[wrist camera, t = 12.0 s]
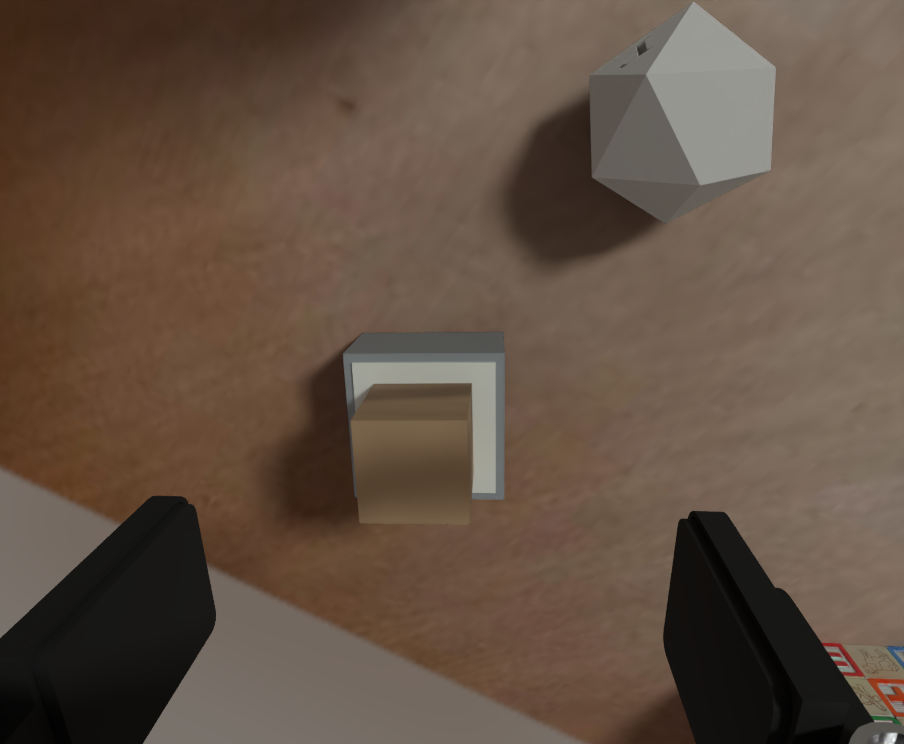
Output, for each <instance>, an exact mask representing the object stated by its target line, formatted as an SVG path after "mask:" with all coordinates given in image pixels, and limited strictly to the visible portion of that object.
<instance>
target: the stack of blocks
mask: <svg viewBox="0 0 904 744" xmlns="http://www.w3.org/2000/svg"><path fill="white" fill-rule="evenodd" d="M822 644H823V646H824V647H825V649H826V650H827V652H828V653H829V655H830V656H831V658H832V659H833V661H834V662H835V664H836V665H837V667H838V668H839V670H840V671H841V673H842V674H843V675H844V677H845V678H846V680H847V681H848V683H849V684H850V686H851V687H852V689H853V690H854V692H855V693H856V695H857V696H858V698H859V699H860V701H861V702H862V704H863V705H864V707H865V708H866V709H867V711H868V712H869V714H870V715H871V717H872V718H873V720H874V721H875V722H889V723H894V724H898V725H903V726H904V647H892V646H887V647H883V646H862V645H841V644H834V643H822Z"/></svg>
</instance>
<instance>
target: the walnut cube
mask: <svg viewBox="0 0 904 744" xmlns="http://www.w3.org/2000/svg"><path fill="white" fill-rule="evenodd" d="M351 432H352V444H353V455H354V466H355V478H356V489H357V500H358V511H359V523H386V524H462V525H470V514H471V501H472V488H473V475H474V464H473V416H472V383H416V384H374V385H373V386H372V388H371V389H370V391H369V392H368V394H367V396H366V397H365V399H364V400H363V402H362V403H361V405H360V406H359V408H358V410H357V411H356V413H355V414H354V416H353V417H352V419H351Z"/></svg>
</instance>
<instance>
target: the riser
mask: <svg viewBox="0 0 904 744" xmlns="http://www.w3.org/2000/svg"><path fill="white" fill-rule="evenodd" d="M343 362H344V374H345V386H346V398H347V410H348V422H349V434H350V447H351V459H352V471H353V483H354V495H355V497H357V489H356V478H355V466H354V455H353V444H352V432H351V419H352V417H353V416H354V414H355V413H356V411H357V410H358V408H359V406H360V405H361V403H362V402H363V400H364V399H365V397H366V396H367V394H368V392H369V391H370V389H371V388H372V386H373V385H374V384H416V383H472V416H473V464H474V475H473V488H472V499H496V500H504V409H505V349H504V333H503V332H447V333H362V334H361V335H360V336H359V337H358V338H357V339H356V340H355V342H354V343H353V344H352V345H351V346H350V347H349V348H348V349H347V350H346V351H345V352H344V353H343Z"/></svg>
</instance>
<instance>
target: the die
mask: <svg viewBox="0 0 904 744" xmlns="http://www.w3.org/2000/svg"><path fill="white" fill-rule="evenodd" d="M775 72H776V67H774V66H773V65H772V64H771V63H769V62H768V61H767V60H766V59H765V58H763V57H762V56H761V55H760V54H758V53H757V52H756V51H755V50H753V49H752V48H751V47H750V46H748V45H747V44H746V43H745V42H743V41H742V40H741V39H740V38H738V37H737V36H736V35H735V34H733V33H732V32H731V31H730V30H728V29H727V28H726V27H725V26H723V25H722V24H721V23H720V22H718V21H717V20H716V19H715V18H713V17H712V16H711V15H710V14H708V13H707V12H706V11H705V10H704V9H702V8H701V7H700V6H699V5H697V4H696V3H695V2H694V1H693V2H692V3H690V4H689V5H688V6H686V7H685V8H683V9H682V10H681V11H679V12H678V13H676V14H675V15H673V16H672V17H671V18H669V19H668V20H666V21H665V22H664V23H662V24H661V25H659V26H658V27H657V28H655V29H654V30H652V31H651V32H649V33H648V34H647V35H645V36H644V37H642V38H641V39H640V40H638V41H637V42H635V43H634V44H632V45H631V46H630V47H628V48H627V49H625V50H624V51H623V52H621V53H620V54H618V55H617V56H615V57H614V58H613V59H611V60H610V61H608V62H607V63H606V64H604V65H603V66H601V67H600V68H599V69H597V70H596V71H594V72H593V73H591V74H590V75H589V85H590V126H591V167H592V178H594V179H595V180H597V181H598V182H600V183H602V184H603V185H605V186H606V187H608V188H609V189H611V190H613V191H614V192H616V193H617V194H619V195H621V196H622V197H624V198H625V199H627V200H628V201H630V202H632V203H633V204H635V205H636V206H638V207H640V208H641V209H643V210H644V211H646V212H647V213H649V214H651V215H652V216H654V217H655V218H657V219H659V220H660V221H662V222H663V223H665V224H666V223H668V222H670V221H672V220H674V219H676V218H678V217H680V216H682V215H684V214H686V213H688V212H690V211H692V210H694V209H695V208H697V207H699V206H701V205H703V204H705V203H707V202H709V201H711V200H713V199H715V198H717V197H719V196H721V195H723V194H725V193H727V192H729V191H731V190H733V189H735V188H737V187H739V186H741V185H743V184H745V183H747V182H749V181H751V180H753V179H754V178H756V177H758V176H760V175H762V174H764V173H766V172H768V171H770V170H771V150H772V131H773V111H774V92H775Z"/></svg>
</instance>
